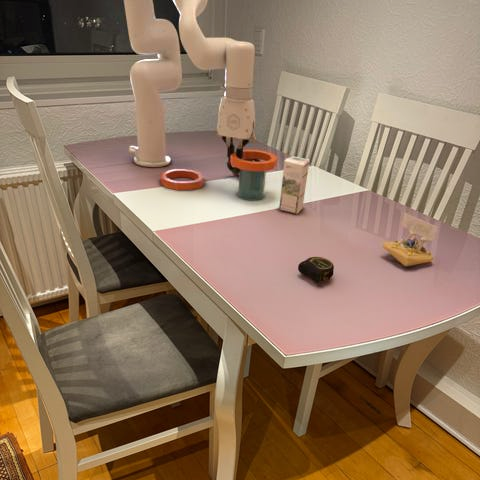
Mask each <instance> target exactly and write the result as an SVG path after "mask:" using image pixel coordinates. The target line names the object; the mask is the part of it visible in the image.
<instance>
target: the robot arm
mask: <svg viewBox="0 0 480 480" xmlns="http://www.w3.org/2000/svg"><path fill="white" fill-rule="evenodd" d="M172 1H173V3H174V5H175V7H176V9H177V11H178V13H179V19H178V20H179V21H178V31H177V29H176V28H175V26H174V24H173V23H172V22H171V21H170V20H168V19H165V18H156V14H155V8H154V7H155V6H154V2H153V0H123V4H124V5H123V6H124V11H125V18H126V25H127V32H128V38H129V44H130V47H131V49H132V51H134V53H136V54H137V55H145V56H146V55H148V56H149V55H157V57H158V58H150V59H142V60H138V61H136V62H135V63H134V64H132V66H131V67H130V68H131V69H130V70H129V78H130V83H131V88H132V93H133V98H134V109H135V110H134V111H135V124H136V140H137V141H136V142H137V146H136V145H135V146H134V145H129V146H128V153H129V154H134V155H135V156H134V157H133V162H134V163H135V164H136V165H137V166H141V167H145V168H160V167H165V166H168V165H170V164H171V162H172V161H171V160H172V159H171V157H169V156H168V155H167V145H166V143H167V141H166V138H167V137H166V111H165V110H166V109H165V104H164V102H163V100H162V97H160V93H165V92H166V93H167V92H173V91H176V90H178V89H179V88H180V86H181V85H182V81H183V69H182V68H183V67H182V59H181V57H182V56H181V50H180V49H181V48H180V41H181V45H182V47H183V49H184V51H185V52H186V54H187V57H188V59H190V61H191V62H192V64H193V65H194V67H196V68H197V69H199V70H201V71H211V70H212V71H213V70H225V74H224V86H220V88H219V92H221V93H223V96H222V97H221V98H220V103H219V109H218V117H217V127H216V128H217V129H216V130H217V131H216V134H215V135H216V137H217V138H219V139H221V140H222V141H223V142H224V144H225V146H226V149H227V150H226V151H227V152H226V157H227V162H228V161H230V154H232V153H233V152H235V151H236V156H237V158H239V159H242V158H243V150H244V147H246V146H247V145H248V144H252V143H254V142H257V138H256V134H255V128H256V110H255V100H254V99H252V97H253V83H254V67H255V55H256V54H255V53H256V49H255V45H254V44H253V43H252V42H250V41H249V42H248V41H243V40H236V39H233V38H230V37H206V36H205V35H204V34H203V32H202V30H201V28H200V26H199V23H198V21H197V18H198V17H199V16H200V15H201V14H202V13H203V12H205V9H206V7H207V5H208V0H172ZM178 32H179V35H178ZM179 38H180V41H179ZM234 139H238V140H237V141H238V142H237V143H238V144H237V147H236V148H235V144H234Z"/></svg>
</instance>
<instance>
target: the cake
mask: <svg viewBox="0 0 480 480" xmlns="http://www.w3.org/2000/svg"><path fill="white" fill-rule="evenodd" d="M402 218H403V219H402V220H401V223H400V226H401V227H402V228H405V229H408V233H409V234H408V236H406V238H402V239H399V240H395V241H385V242H383V243H381V247H382V248H383V250H385V251H387V253H389V254H390V255H391V256H392V257H393V258H394V259H396V260H397V261H398V262H399V263H400V264H402V265H403V266H404V267H410V266H414V265H415V266H416V265H420V264H425V263H431V262H432V261H433V260H435V257H434V256H433V254H432V253H431V252H430V251H429V250H428V249H427V248H426V247H425V246H424V245H425V244H424V243H427V242H428V240H429V241H431V242H433V241H434V238H435V236H436V234H437V231H438V228H439V226H437V225H435V224H432V223H429V222H428V221H425V220H423V219H422V218H418V217H415V216H414V215H411V214H409V213H407V212H404V214H403V217H402ZM416 235H419V236H420V237H421V238H420V243H419V239H418V238H416V237H414V238H413V239H412V237H413V236H416Z"/></svg>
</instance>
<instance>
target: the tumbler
mask: <svg viewBox="0 0 480 480" xmlns="http://www.w3.org/2000/svg"><path fill="white" fill-rule="evenodd" d="M266 174H267V171H249V170H243V169H240V170H239V173H238V188H237V196H238V197H239V198H241V199H242V200H248V201H258V200H261V199H263V198H264V194H265V188H266V187H265V186H266Z"/></svg>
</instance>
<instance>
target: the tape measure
mask: <svg viewBox="0 0 480 480" xmlns="http://www.w3.org/2000/svg"><path fill="white" fill-rule="evenodd" d="M297 270H298V272H299V273H300V274H301V275H303V276H304V277H306V278H308V279H309V280H311V281H312V282H313V283H315V284H317V285H321V284H322V283H323V282H328V281H330V280H331V278H333V276H334V272H335V271H334V270H335V265H334V263H333V262H332V260H330V259H328V258H325V257H322V256H311V257H308V258H307V259H305V260H303V261H301V262H300V263H299V264H298V265H297Z"/></svg>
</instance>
